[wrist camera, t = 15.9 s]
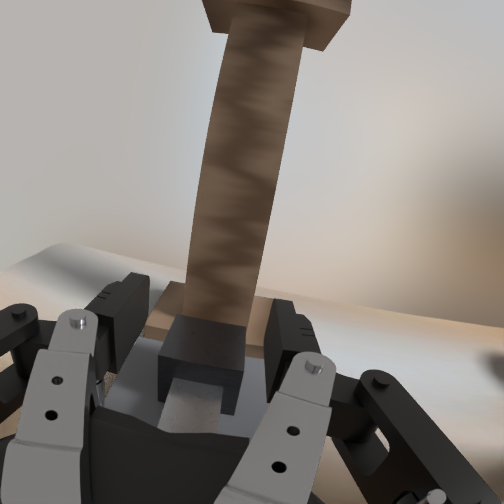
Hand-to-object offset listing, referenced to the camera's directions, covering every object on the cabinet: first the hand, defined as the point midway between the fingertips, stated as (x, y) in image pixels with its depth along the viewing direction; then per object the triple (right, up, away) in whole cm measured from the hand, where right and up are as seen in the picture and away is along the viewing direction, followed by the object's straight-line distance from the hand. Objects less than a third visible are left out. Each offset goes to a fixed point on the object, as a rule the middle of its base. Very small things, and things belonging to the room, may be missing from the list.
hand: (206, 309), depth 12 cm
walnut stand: (-2, -5, +19) cm, 19 cm away
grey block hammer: (-2, -9, +3) cm, 9 cm away
